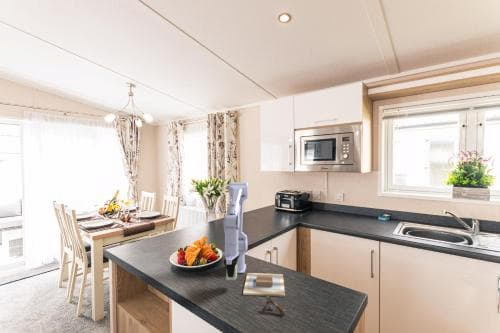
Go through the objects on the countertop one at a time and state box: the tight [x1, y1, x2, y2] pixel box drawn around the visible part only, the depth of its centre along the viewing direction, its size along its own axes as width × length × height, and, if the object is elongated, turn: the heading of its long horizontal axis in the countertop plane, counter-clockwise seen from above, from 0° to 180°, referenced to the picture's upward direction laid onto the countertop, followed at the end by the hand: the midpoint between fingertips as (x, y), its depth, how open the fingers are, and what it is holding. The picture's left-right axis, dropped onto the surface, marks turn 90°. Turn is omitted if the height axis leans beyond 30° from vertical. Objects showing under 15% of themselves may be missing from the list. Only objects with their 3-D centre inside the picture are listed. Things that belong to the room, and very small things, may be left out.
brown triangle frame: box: [264, 296, 287, 317], centre depth 87 cm, size 2×8×4 cm, turn 53°
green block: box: [225, 264, 238, 281], centre depth 103 cm, size 4×4×5 cm
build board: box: [242, 272, 286, 298], centre depth 106 cm, size 18×17×3 cm
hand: (231, 274), depth 103 cm, fingers closed on green block, 4 cm apart
